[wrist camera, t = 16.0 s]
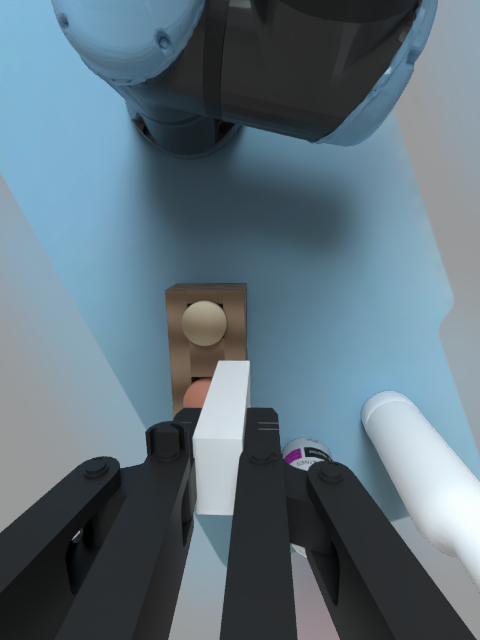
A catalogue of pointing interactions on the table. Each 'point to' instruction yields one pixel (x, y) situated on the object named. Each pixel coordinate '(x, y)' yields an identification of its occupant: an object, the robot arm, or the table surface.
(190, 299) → the socket board
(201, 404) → the brick-red plug
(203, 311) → the maple plug
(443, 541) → the bottle
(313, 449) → the supplement can
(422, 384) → the table surface
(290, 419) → the table surface
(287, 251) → the table surface
